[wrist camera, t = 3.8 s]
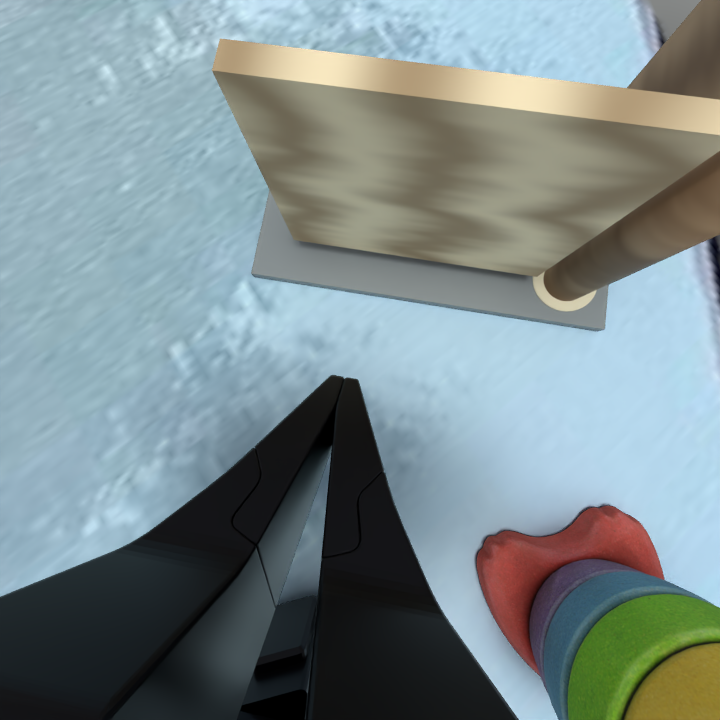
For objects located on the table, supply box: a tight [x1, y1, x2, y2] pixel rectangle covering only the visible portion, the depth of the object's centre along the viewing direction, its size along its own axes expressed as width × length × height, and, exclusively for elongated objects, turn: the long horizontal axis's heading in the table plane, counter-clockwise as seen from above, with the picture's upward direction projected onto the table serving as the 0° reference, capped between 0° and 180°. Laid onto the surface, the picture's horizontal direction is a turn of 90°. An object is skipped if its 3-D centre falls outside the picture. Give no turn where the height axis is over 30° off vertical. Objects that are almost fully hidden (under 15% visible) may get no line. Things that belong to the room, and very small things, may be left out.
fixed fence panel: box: [543, 0, 720, 301], centre depth 15 cm, size 11×3×13 cm, turn 170°
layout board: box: [251, 190, 608, 331], centre depth 22 cm, size 18×25×1 cm
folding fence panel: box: [212, 39, 720, 277], centre depth 15 cm, size 16×1×11 cm, turn 80°
